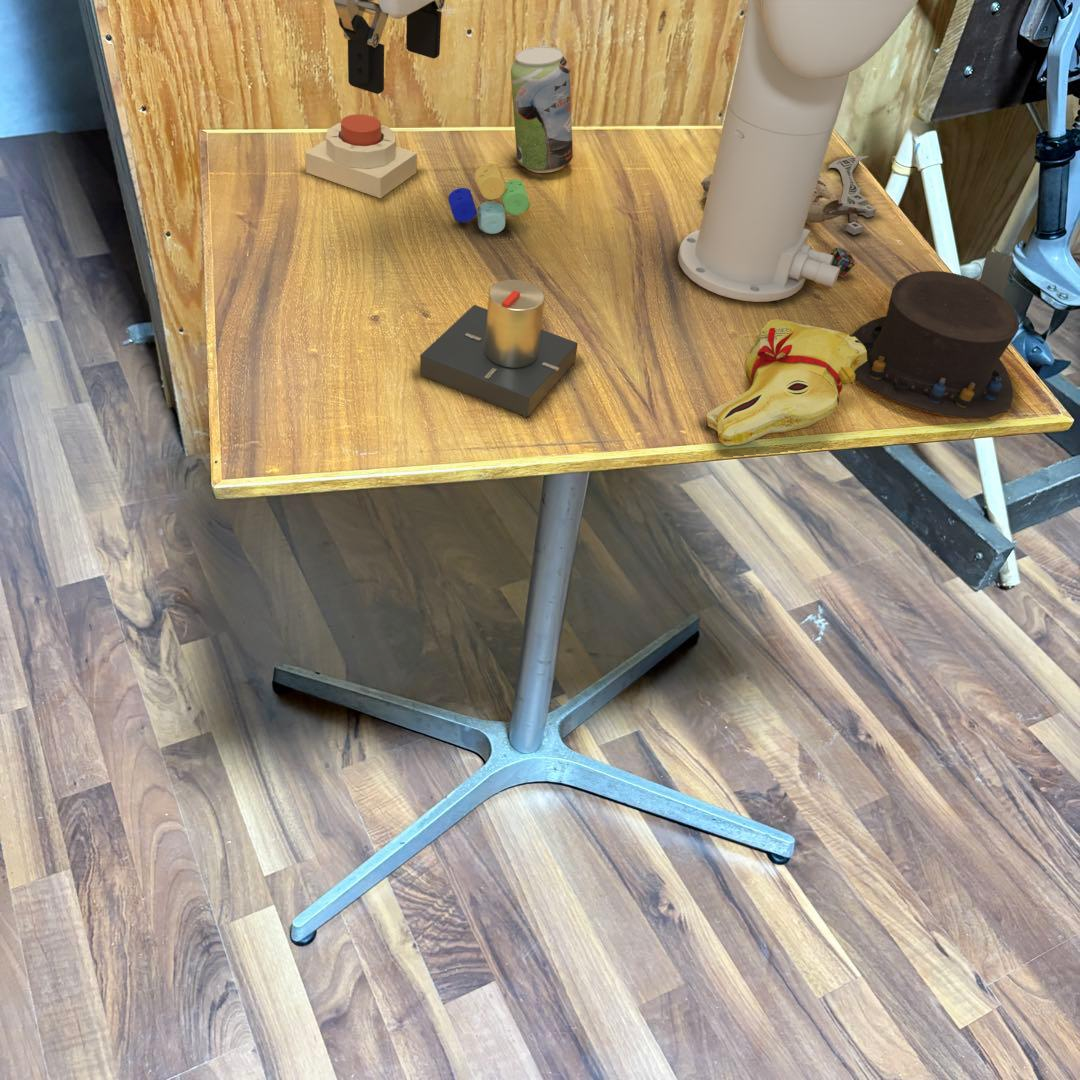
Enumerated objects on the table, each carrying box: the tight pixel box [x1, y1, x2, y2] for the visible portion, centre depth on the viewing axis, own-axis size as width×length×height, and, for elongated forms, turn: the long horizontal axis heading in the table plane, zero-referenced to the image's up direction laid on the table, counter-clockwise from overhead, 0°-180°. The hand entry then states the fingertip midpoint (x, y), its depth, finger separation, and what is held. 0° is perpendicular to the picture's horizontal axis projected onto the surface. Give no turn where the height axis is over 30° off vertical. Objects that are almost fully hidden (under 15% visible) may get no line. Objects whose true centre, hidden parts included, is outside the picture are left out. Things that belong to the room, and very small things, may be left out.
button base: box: [304, 122, 418, 199], centre depth 110 cm, size 9×7×4 cm
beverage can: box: [510, 45, 574, 174], centre depth 112 cm, size 6×7×12 cm
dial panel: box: [419, 304, 578, 418], centre depth 89 cm, size 10×9×2 cm
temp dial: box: [485, 279, 546, 368], centre depth 86 cm, size 4×4×6 cm
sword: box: [828, 155, 877, 236], centre depth 119 cm, size 20×1×5 cm
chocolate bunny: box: [706, 318, 867, 447], centre depth 86 cm, size 7×11×15 cm
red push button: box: [340, 113, 382, 146], centre depth 108 cm, size 4×4×2 cm
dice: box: [447, 162, 531, 235], centre depth 103 cm, size 8×3×6 cm, turn 100°
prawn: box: [805, 175, 866, 278], centre depth 111 cm, size 25×12×7 cm, turn 12°
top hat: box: [851, 250, 1020, 419], centre depth 91 cm, size 15×15×10 cm
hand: (395, 70), depth 94 cm, fingers open, 9 cm apart
